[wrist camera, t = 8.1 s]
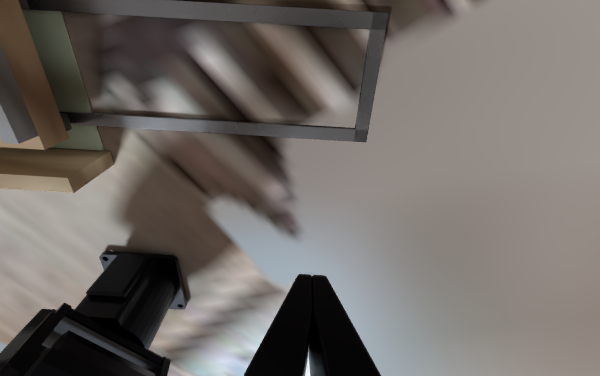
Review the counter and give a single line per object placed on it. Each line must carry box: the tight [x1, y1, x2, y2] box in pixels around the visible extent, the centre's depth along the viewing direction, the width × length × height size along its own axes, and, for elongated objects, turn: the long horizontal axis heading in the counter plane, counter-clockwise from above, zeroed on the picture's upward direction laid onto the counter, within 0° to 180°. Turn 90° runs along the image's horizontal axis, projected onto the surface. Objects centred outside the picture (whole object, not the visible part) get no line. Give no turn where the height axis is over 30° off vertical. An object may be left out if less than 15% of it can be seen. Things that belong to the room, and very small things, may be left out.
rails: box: [27, 0, 389, 142], centre depth 17 cm, size 7×28×1 cm, turn 87°
